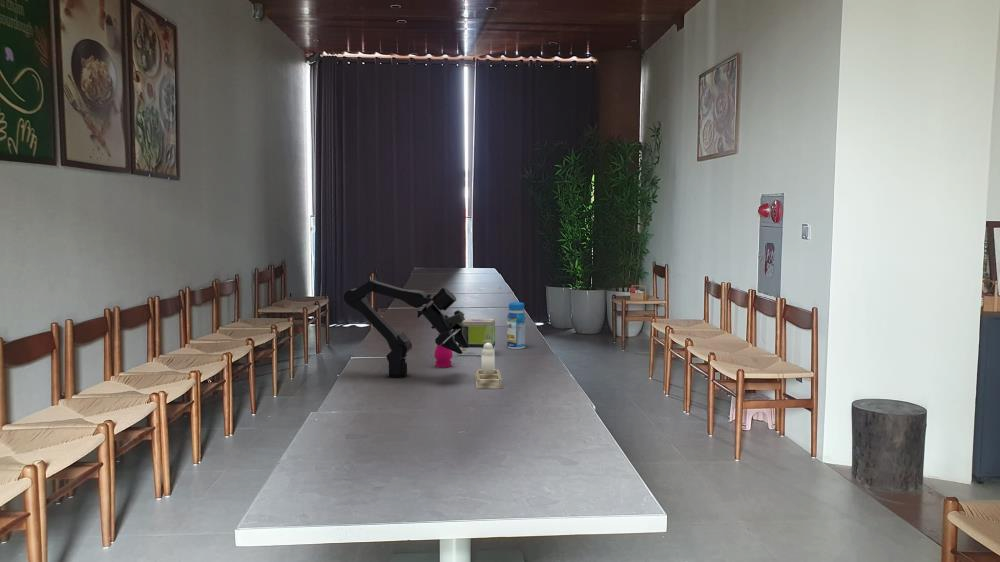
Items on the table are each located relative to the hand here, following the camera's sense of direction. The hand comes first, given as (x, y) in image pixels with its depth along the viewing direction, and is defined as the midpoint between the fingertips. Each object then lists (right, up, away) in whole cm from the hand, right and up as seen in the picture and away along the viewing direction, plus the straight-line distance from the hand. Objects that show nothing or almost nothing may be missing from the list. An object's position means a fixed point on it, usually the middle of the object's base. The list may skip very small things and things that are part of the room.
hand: (464, 350), depth 275 cm
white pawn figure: (+8, -10, 0) cm, 13 cm away
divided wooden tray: (+9, -11, -4) cm, 15 cm away
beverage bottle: (+20, -4, +60) cm, 64 cm away
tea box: (+3, -6, +46) cm, 47 cm away
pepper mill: (-10, -8, +23) cm, 26 cm away
